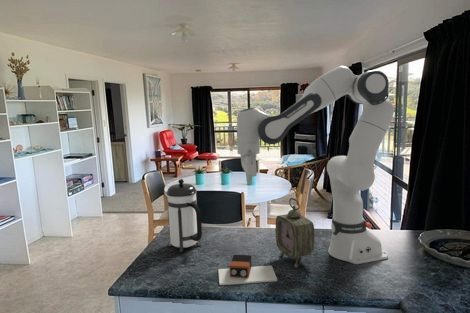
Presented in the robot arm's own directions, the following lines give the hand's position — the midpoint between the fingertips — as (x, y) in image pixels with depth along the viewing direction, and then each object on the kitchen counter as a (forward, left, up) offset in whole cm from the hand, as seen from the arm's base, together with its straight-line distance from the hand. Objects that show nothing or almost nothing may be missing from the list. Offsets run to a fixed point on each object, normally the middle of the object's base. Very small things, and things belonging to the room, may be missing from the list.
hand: (249, 182), depth 132 cm
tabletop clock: (-16, +11, -29) cm, 35 cm away
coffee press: (+27, -8, -29) cm, 41 cm away
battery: (+5, +13, -26) cm, 30 cm away
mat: (+4, +20, -29) cm, 36 cm away
